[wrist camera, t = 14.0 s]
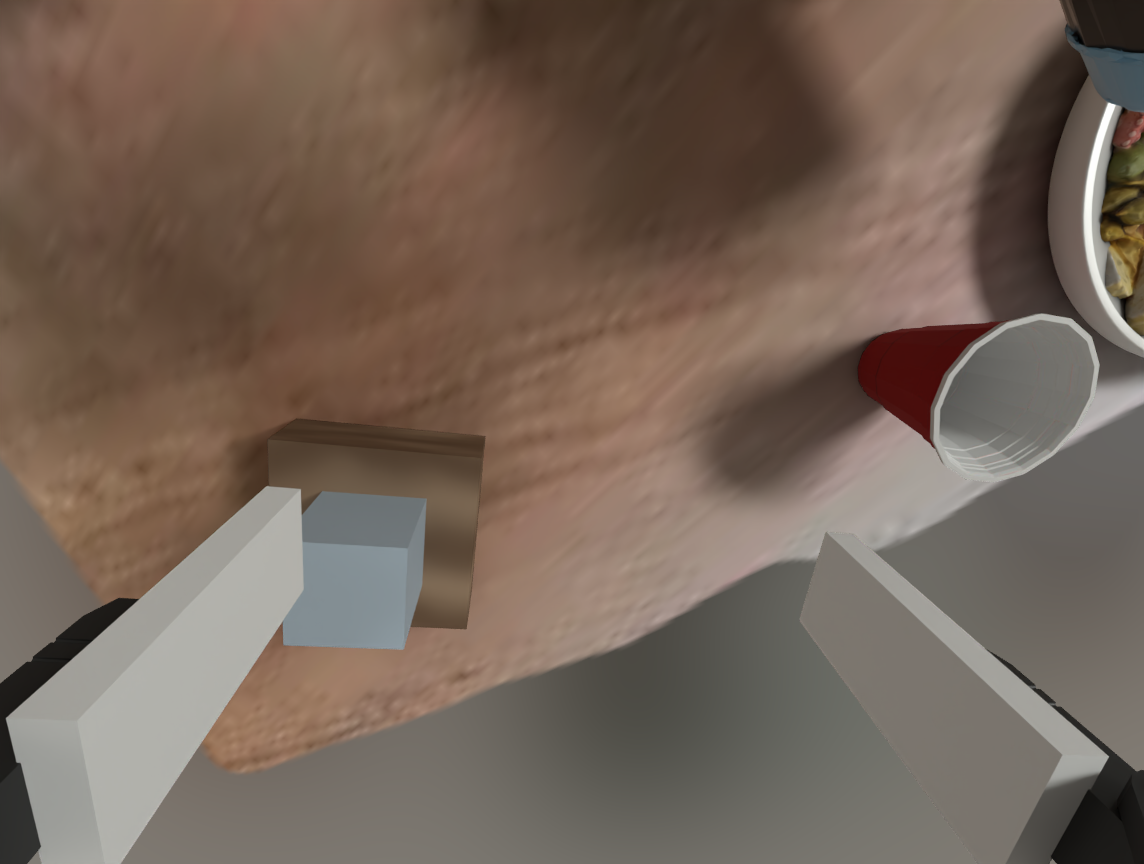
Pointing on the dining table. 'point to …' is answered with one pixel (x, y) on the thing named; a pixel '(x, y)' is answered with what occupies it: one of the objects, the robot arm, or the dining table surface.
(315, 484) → the walnut block
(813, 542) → the dining table surface
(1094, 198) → the bowl
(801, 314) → the dining table surface
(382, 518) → the slate cube
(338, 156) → the dining table surface
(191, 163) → the dining table surface
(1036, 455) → the plastic cup
